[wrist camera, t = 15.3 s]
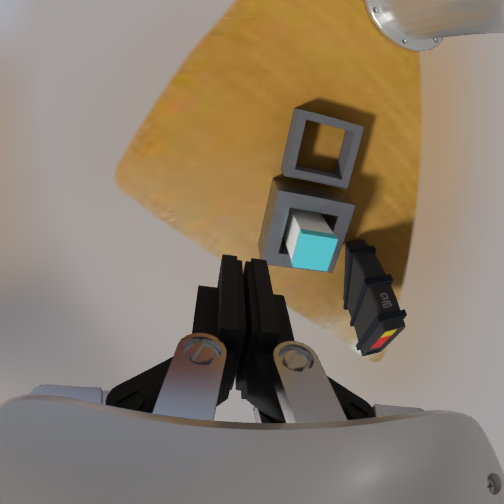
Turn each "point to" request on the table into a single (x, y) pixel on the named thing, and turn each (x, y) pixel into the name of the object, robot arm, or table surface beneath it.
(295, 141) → the grey square frame
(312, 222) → the plug
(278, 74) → the table surface
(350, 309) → the magazine
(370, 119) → the table surface
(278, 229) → the port block
